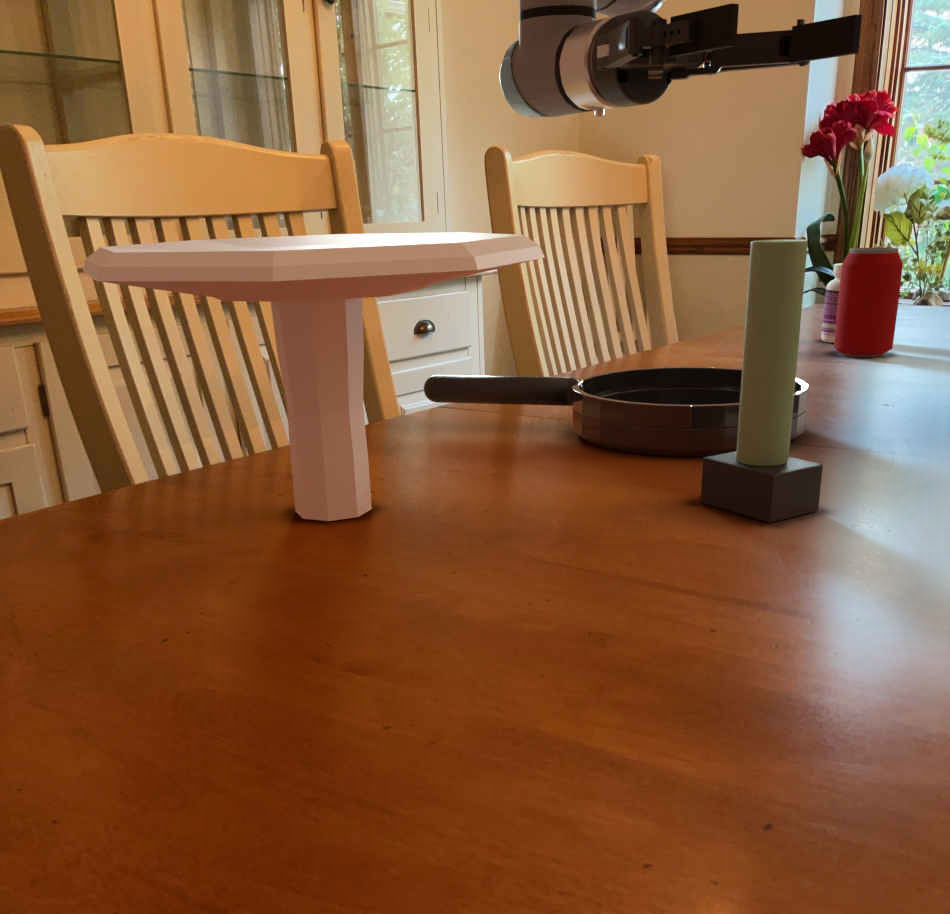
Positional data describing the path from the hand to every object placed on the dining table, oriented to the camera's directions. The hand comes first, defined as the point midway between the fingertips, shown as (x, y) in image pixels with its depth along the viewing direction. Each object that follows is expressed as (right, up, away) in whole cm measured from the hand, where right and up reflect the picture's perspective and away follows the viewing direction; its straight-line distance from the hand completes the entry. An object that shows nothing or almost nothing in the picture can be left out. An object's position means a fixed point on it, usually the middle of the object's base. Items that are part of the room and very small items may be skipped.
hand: (798, 29), depth 80 cm
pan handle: (-22, -26, +12) cm, 36 cm away
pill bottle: (+24, -8, +57) cm, 62 cm away
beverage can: (+22, -13, +46) cm, 53 cm away
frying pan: (-7, -29, +8) cm, 31 cm away
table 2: (-34, -38, -11) cm, 53 cm away
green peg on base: (-7, -38, -13) cm, 41 cm away
